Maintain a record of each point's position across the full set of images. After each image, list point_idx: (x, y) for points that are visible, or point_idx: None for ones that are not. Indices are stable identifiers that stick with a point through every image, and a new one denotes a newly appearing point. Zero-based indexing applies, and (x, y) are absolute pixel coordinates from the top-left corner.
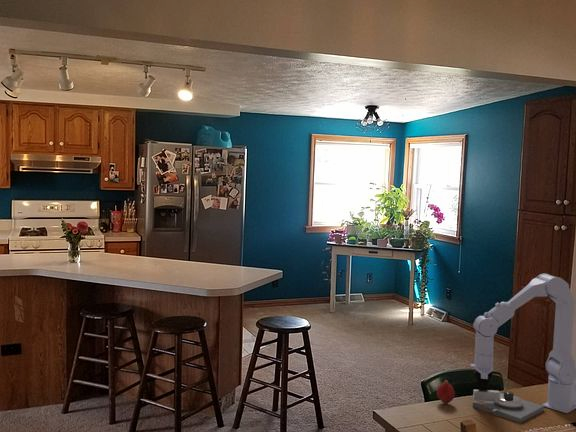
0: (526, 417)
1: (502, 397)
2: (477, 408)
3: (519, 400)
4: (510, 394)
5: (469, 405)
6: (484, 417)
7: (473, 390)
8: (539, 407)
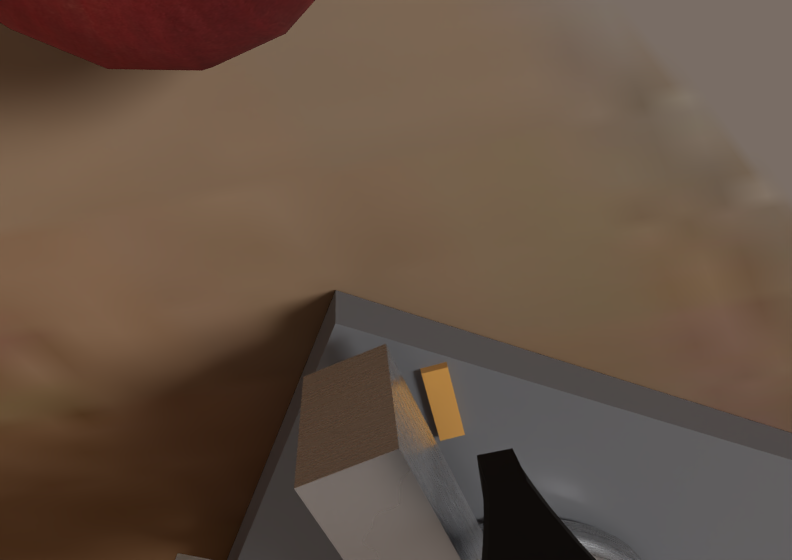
0: None
1: None
2: (312, 350)
3: None
4: None
5: (371, 243)
6: (74, 457)
7: (389, 437)
8: None
